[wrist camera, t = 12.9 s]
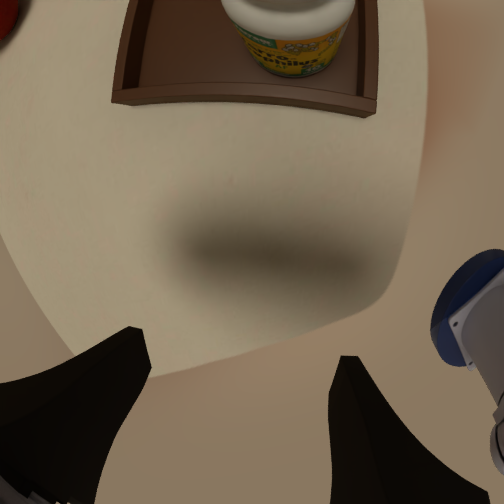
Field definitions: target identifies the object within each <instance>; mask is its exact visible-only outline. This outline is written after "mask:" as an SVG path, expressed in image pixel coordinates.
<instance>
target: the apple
mask: <svg viewBox="0 0 504 504" xmlns="http://www.w3.org/2000/svg"><path fill="white" fill-rule="evenodd" d="M17 16H18V0H0V40H2V39H3V38H4V37H5V36H7V35H8V34H9V33H10V31H11V30H12V28H13V26H14V24H15V22H16V19H17Z"/></svg>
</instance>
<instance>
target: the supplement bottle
mask: <svg viewBox="0 0 504 504" xmlns="http://www.w3.org/2000/svg"><path fill="white" fill-rule="evenodd" d="M221 2H222V5H223V7H224V9H225V11H226V13H227V15H228V16H229V18H230V19H231V21H232V23H233V24H234V26H235V28H236V29H237V31H238V33H239V35H240V36H241V38H242V39H243V41H244V43H245V45H246V46H247V48H248V50H249V52H250V53H251V55H252V56H253V58H254V59H255V60H256V62H257V63H258V64H259V65H260V66H262V67H263V68H264V69H266V70H267V71H269V72H271V73H274V74H277V75H280V76H284V77H292V78H295V77H304V76H308V75H311V74H314V73H317V72H319V71H321V70H323V69H324V68H325V67H327V66H328V65H329V64H330V63H331V62H332V60H333V59H334V57H335V55H336V53H337V50H338V47H339V45H340V42H341V40H342V37H343V35H344V32H345V30H346V27H347V25H348V22H349V20H350V17H351V15H352V12H353V9H354V5H355V0H221Z"/></svg>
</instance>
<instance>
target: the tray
mask: <svg viewBox="0 0 504 504" xmlns="http://www.w3.org/2000/svg"><path fill="white" fill-rule="evenodd" d="M378 64H379V32H378V7H377V0H355V5H354V9H353V12H352V15H351V17H350V20H349V22H348V25H347V27H346V30H345V32H344V35H343V37H342V40H341V42H340V45H339V47H338V50H337V53H336V55H335V57H334V59H333V60H332V62H331V63H330V64H329V65H328V66H327V67H325V68H324V69H323V70H321V71H319V72H317V73H314V74H311V75H308V76H304V77H295V78H292V77H284V76H280V75H277V74H274V73H271V72H269V71H267V70H266V69H264V68H263V67H262V66H260V65H259V64H258V63H257V62H256V60H255V59H254V58H253V56H252V55H251V53H250V52H249V50H248V48H247V46H246V45H245V43H244V41H243V39H242V38H241V36H240V35H239V33H238V31H237V29H236V28H235V26H234V24H233V23H232V21H231V19H230V18H229V16H228V15H227V13H226V11H225V9H224V7H223V5H222V2H221V0H130V1H129V4H128V8H127V12H126V16H125V20H124V24H123V29H122V33H121V38H120V43H119V48H118V54H117V60H116V66H115V73H114V80H113V88H112V91H113V92H112V99H111V103H116V104H123V105H129V106H136V105H147V104H159V103H176V102H243V103H260V104H273V105H284V106H293V107H301V108H309V109H316V110H323V111H329V112H335V113H341V114H346V115H351V116H356V117H361V118H366V117H368V116H371V115H373V114H376V107H377V101H376V100H377V91H378Z"/></svg>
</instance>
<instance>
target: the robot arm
mask: <svg viewBox="0 0 504 504" xmlns="http://www.w3.org/2000/svg"><path fill="white" fill-rule="evenodd" d="M448 323H449V325H450V328H451V330H452V332H453V334H454V336H455V339H456V341H457V343H458V346H459V348H460V350H461V353H462V355H463V358H464V360H465V363H466V365H467V368H468V370H469V371H472V370H473V369H475V368H476V367H477V369H478V370H479V372H480V374H481V376H482V378H483V379H484V381H485V383H486V385H487V387H488V389H489V390H490V392H491V394H492V396H493V398H494V400H495V402H496V404H497V406H498V408H497V410H496V411H495V412H494V413H493V417H494V419H495V422H496V424H495V426H494V427H493V429H492V432H491V436H490V452H491V456H492V459H493V462H494V464H495V466H496V468H497V469H498V470H499V472H500V473H501V474H503V475H504V268H503V269H502V270H501V271H500V272H499V273H498V274H497V275H496V276H495V277H494V278H493V279H492V280H491V281H490V282H488V283H487V284H486V285H485V286H484V287H483V288H482V289H481V290H480V291H479V292H478V293H477V294H475V295H474V296H473V297H472V298H471V299H470V300H469V301H467V302H466V303H465V304H464V305H463V306H461V307H460V308H459V309H458V310H457V311H455V312H454V313H453V314H452V315H451V316H450V317H449V318H448ZM454 323H455V324H454ZM151 368H152V367H151V363H150V359H149V356H148V352H147V348H146V343H145V339H144V335H143V330H142V329H139V328H135V327H131V326H128V327H126V328H124V329H122V330H121V331H119V332H117V333H115V334H114V335H112V336H110V337H109V338H107V339H105V340H104V341H102V342H100V343H99V344H97V345H95V346H93V347H92V348H90V349H88V350H87V351H85V352H83V353H81V354H79V355H77V356H75V357H74V358H72V359H70V360H68V361H66V362H64V363H62V364H60V365H58V366H56V367H53V368H51V369H48V370H46V371H43V372H41V373H38V374H35V375H32V376H29V377H25V378H22V379H19V380H15V381H11V382H6V383H0V504H55V503H56V502H59V503H60V504H67V502H69V503H70V504H94V502H95V497H96V492H97V488H98V484H99V480H100V477H101V473H102V470H103V467H104V464H105V461H106V459H107V456H108V453H109V451H110V448H111V446H112V443H113V441H114V438H115V436H116V434H117V432H118V430H119V428H120V427H121V425H122V423H123V422H124V420H125V418H126V417H127V415H128V413H129V412H130V410H131V408H132V406H133V405H134V403H135V401H136V400H137V398H138V396H139V394H140V393H141V391H142V389H143V387H144V385H145V383H146V380H147V378H148V375H149V373H150V370H151ZM328 423H329V435H330V447H331V461H332V487H331V499H330V504H490V499H489V495H488V492H487V491H485V490H483V489H482V488H480V487H478V486H476V485H474V484H472V483H471V482H469V481H467V480H465V479H464V478H462V477H461V476H459V475H458V474H457V473H455V472H454V471H452V470H451V469H450V468H448V467H447V466H446V465H445V464H443V463H442V462H441V461H440V460H438V459H437V458H436V457H435V456H434V455H433V454H432V453H431V452H430V451H429V450H427V449H426V448H425V447H424V446H423V445H422V444H421V443H420V442H419V440H418V439H417V438H416V437H415V436H414V435H413V434H412V433H411V432H410V431H409V429H408V428H407V427H406V426H405V425H404V423H403V422H402V421H401V420H400V418H399V417H398V416H397V415H396V413H395V412H394V410H393V409H392V408H391V406H390V405H389V403H388V402H387V401H386V399H385V398H384V396H383V395H382V394H381V392H380V390H379V389H378V387H377V386H376V384H375V383H374V381H373V380H372V378H371V376H370V375H369V373H368V371H367V370H366V368H365V367H364V365H363V363H362V362H361V360H360V358H359V357H358V356H341V357H340V360H339V364H338V367H337V370H336V373H335V376H334V379H333V382H332V385H331V388H330V391H329V400H328Z"/></svg>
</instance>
